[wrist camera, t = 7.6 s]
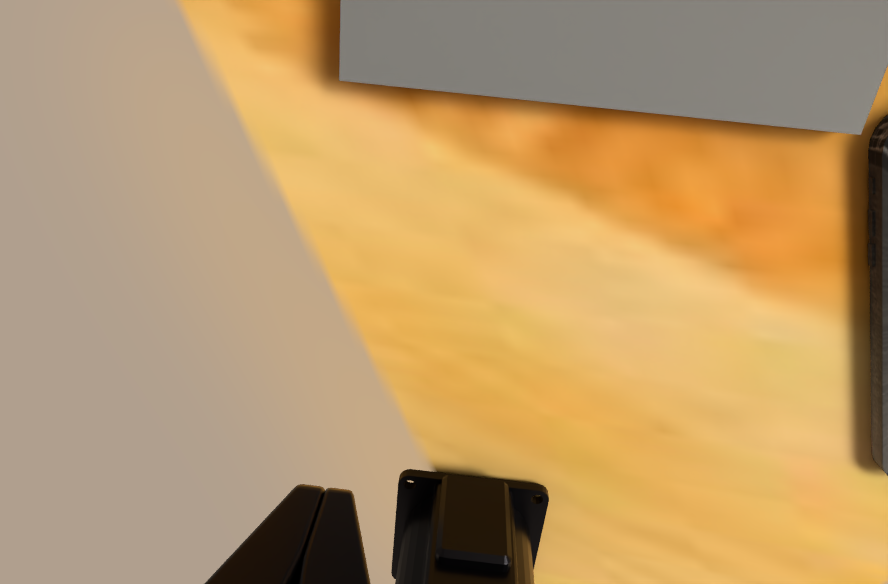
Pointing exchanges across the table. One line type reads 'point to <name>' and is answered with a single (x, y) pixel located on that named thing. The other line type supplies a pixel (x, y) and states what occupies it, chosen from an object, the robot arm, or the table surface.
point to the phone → (879, 290)
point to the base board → (633, 54)
